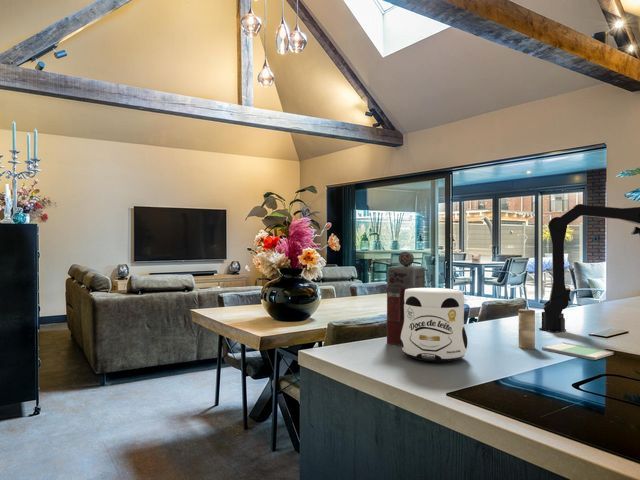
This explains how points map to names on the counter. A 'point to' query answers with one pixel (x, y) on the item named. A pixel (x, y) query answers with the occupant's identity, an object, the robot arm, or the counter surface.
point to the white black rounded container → (434, 324)
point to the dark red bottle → (400, 293)
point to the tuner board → (578, 351)
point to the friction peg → (526, 329)
